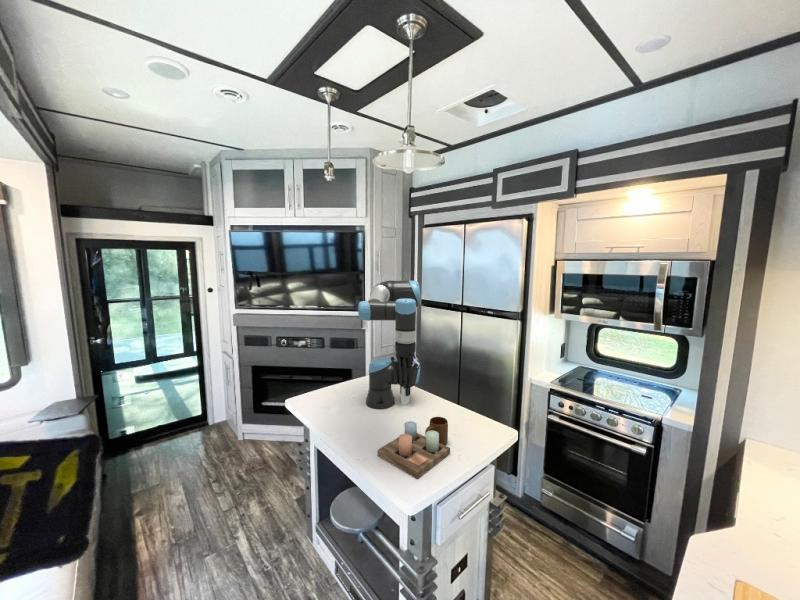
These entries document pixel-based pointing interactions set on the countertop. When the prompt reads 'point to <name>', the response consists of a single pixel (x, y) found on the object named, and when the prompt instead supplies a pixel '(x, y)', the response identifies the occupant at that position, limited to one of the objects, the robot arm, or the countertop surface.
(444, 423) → the mug
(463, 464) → the countertop surface
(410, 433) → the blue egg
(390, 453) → the wooden compartment tray
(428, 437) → the pale green rounded cylinder
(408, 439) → the peach rounded cylinder
